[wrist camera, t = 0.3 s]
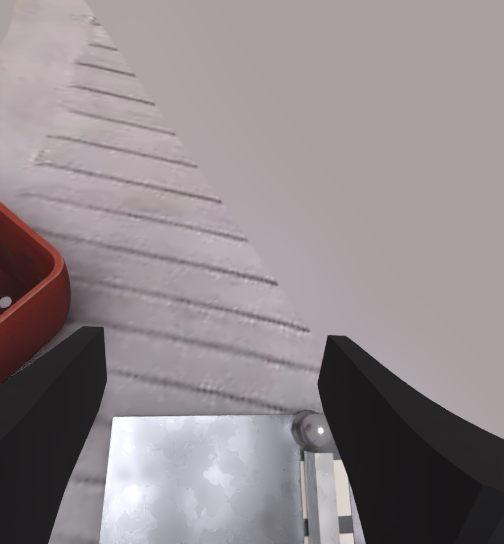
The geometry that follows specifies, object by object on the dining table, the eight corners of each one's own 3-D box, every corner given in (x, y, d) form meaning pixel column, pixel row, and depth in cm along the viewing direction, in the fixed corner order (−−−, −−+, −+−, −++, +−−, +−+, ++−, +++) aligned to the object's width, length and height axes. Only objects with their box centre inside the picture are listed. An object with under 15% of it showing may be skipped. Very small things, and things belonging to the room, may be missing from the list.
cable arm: (300, 451, 39) (313, 454, 35) (324, 450, 39) (339, 453, 35) (309, 625, 33) (326, 650, 30) (337, 622, 34) (356, 645, 30)
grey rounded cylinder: (327, 448, 40) (344, 451, 36) (292, 449, 39) (306, 453, 35) (323, 410, 41) (340, 409, 37) (290, 410, 41) (303, 409, 36)
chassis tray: (356, 603, 36) (360, 607, 35) (91, 632, 32) (88, 639, 31) (338, 413, 42) (342, 413, 42) (114, 417, 38) (113, 417, 37)
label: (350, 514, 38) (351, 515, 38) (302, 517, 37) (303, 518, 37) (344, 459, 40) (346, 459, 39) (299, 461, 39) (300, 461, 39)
